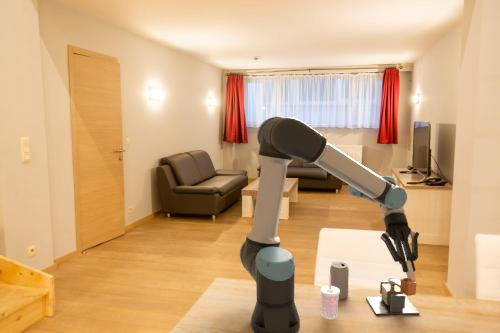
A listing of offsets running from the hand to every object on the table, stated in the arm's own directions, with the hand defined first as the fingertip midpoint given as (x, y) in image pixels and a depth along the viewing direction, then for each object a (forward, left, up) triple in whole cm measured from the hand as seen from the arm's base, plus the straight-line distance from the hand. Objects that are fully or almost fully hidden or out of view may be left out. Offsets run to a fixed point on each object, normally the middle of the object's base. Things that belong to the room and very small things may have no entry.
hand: (412, 281), depth 123 cm
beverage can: (-20, +13, -12) cm, 27 cm away
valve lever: (-3, +2, -3) cm, 5 cm away
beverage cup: (-26, 0, -12) cm, 29 cm away
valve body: (-4, +5, -11) cm, 13 cm away
